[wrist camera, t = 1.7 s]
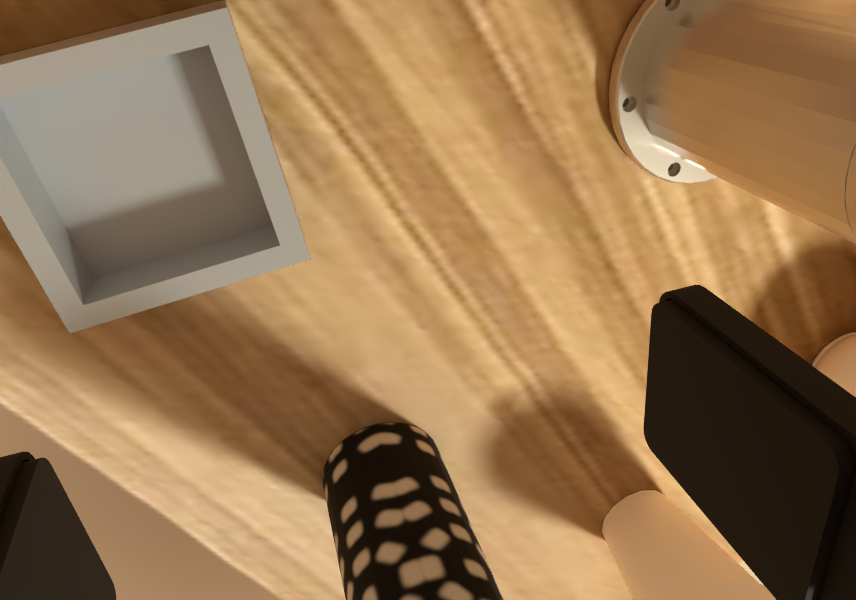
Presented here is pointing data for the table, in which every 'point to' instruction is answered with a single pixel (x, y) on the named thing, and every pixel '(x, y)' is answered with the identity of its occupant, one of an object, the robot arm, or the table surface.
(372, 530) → the spotted tube
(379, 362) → the table surface
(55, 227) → the tray
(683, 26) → the robot arm
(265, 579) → the table surface
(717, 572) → the foam cup
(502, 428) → the table surface
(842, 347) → the lidded jar
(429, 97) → the table surface
